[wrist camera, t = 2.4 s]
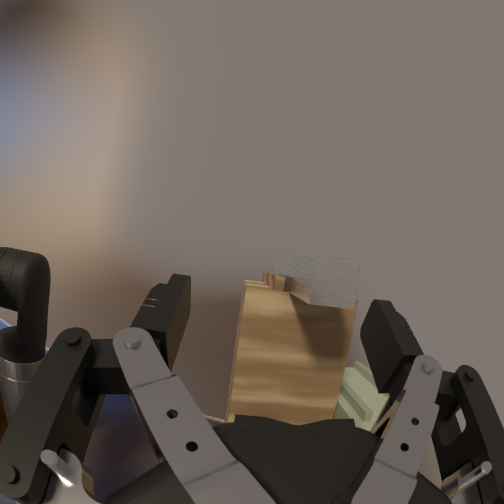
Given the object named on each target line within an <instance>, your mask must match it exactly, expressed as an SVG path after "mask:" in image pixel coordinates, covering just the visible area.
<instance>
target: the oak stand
mask: <svg viewBox="0 0 504 504" xmlns="http://www.w3.org/2000/svg"><path fill="white" fill-rule="evenodd" d="M284 283H285V277H284V276H280V275H277V274H274V273H270V272H264V273H263V281H255V280H248V279H244V285H243V292H242V299H241V306H240V313H239V321H238V329H237V336H236V343H235V350H234V357H233V365H232V373H231V380H230V387H229V395H228V403H227V409H226V417H225V423H229V422H234V418H235V414H240V415H249V416H260V417H268V418H271V419H275V420H278V421H282V422H286V423H290V424H294V425H303V424H308V423H313V422H317V421H322V420H326V419H332V418H333V414H334V411H335V407H336V403H337V400H338V396H339V392H340V388H341V384H342V379H343V375H344V371H345V366H346V362H347V357H348V352H349V347H350V342H351V337H352V332H353V326H354V321H355V315H356V309H357V303H358V300H355V306H354V309H349V308H339V307H329V306H319V305H310V304H308V303H306V302H304V301H303V300H301V299H299V298H298V297H296V296H294V295H292V294H291V293H289V292H287V291H286V290H284Z"/></svg>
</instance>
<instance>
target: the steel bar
mask: <svg viewBox="0 0 504 504" xmlns="http://www.w3.org/2000/svg"><path fill="white" fill-rule="evenodd" d="M360 263H361V262H357V261H350V260H344V259H337V258H329V257H323V256H307V257H298V258H290V259H279V260H276V262H275V269H274V274H277V275H280V276H284V277H285V283H284V290H286V291H287V292H289V293H291V294H292V295H294V296H296V297H298V298H299V299H301V300H303V301H304V302H306V303H308V304H310V305H319V306H329V307H339V308H349V309H354V306H355V300H356V293H357V286H358V279H359V271H360Z"/></svg>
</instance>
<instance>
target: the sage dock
mask: <svg viewBox="0 0 504 504" xmlns="http://www.w3.org/2000/svg"><path fill="white" fill-rule="evenodd" d="M388 398H389V393H382V394H378V391H377V387H376V384H375V381H374V378H373V374H372V371H371V370H370V369H368V368H367V367H366V366H365V365H363V364H362V363H361V362H359V361H355V362H354V367H353V368H350V367H345V371H344V375H343V379H342V384H341V388H340V392H339V396H338V400H337V403H336V407H335V411H334V414H333V418H332V419H354V422H355V427H359V428H362V429H365V430H367V431H370V430H371V429H372V427H373V425H374V423H375V421H376V419H377V418H378V416H379V414H380V412H381V410H382V408H383V406H384V404H385V402H386V400H387V399H388Z"/></svg>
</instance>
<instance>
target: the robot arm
mask: <svg viewBox="0 0 504 504" xmlns="http://www.w3.org/2000/svg"><path fill="white" fill-rule="evenodd" d="M50 278H51V277H50V267H49V263H48V261H47V259H46V258H45V257H44V256H43V255H41V254H38V253H34V252H29V251H23V250H18V249H13V248H8V247H0V307H3V308H7V309H10V310H13V311H17V312H18V320H17V326H13V327H7V328H3V329H1V330H0V387H1V392H2V398H3V402H4V407H5V412H6V416H7V420H8V424H9V425H8V428H7V430H6V432H5V434H4V437H3V439H2V441H1V444H0V492H1V493H2V494H4V495H5V496H7V497H9V498H10V499H12V500H14V501H15V502H16V503H18V504H100V503H99V502H98V501H97V499H96V498H95V495H94V492H93V483H94V482H93V477H92V474H91V473H90V471H89V470H88V469H87V468H86V467H85V466H84V464H83V461H84V457H85V454H86V451H87V448H88V444H89V441H90V438H91V435H92V432H93V429H94V426H95V423H96V420H97V417H98V415H99V412H100V409H101V406H102V403H103V401H104V398H105V395H106V394H128V397H129V399H130V401H131V404H132V406H133V408H134V410H135V413H136V415H137V417H138V419H139V421H140V423H141V426H142V428H143V430H144V432H145V434H146V436H147V439H148V441H149V443H150V445H151V447H152V449H153V451H154V453H155V455H156V457H157V459H158V460H159V462H160V463H159V464H157V465H156V466H154V467H153V468H152V469H150V470H149V471H147V472H146V473H144V474H143V475H141V476H140V477H138V478H137V479H135V480H134V481H132V482H130V483H129V484H127V485H126V486H124V487H123V488H121V489H119V490H118V491H116V492H114V493H113V494H111V495H110V496H108V497H107V498H106V499H105V500H104V501H103V502H102V503H101V504H504V429H503V426H502V424H501V421H500V419H499V416H498V414H497V412H496V410H495V407H494V405H493V403H492V401H491V398H490V396H489V394H488V392H487V390H486V387H485V385H484V384H483V382H482V379H481V377H480V375H479V374H478V372H477V371H476V370H475V369H474V368H472V367H470V366H468V365H462V366H460V367H459V368H458V369H457V370H456V372H455V373H452V372H447V371H443V370H442V367H441V365H440V364H439V363H438V361H437V360H435V359H434V358H432V357H430V356H427V355H424V354H423V352H422V350H421V348H420V346H419V344H418V342H417V340H416V338H415V336H414V335H413V332H412V330H411V329H410V327H409V325H408V323H407V321H406V319H405V318H403V316H402V315H400V314H399V313H398V312H396V310H395V308H394V307H393V305H392V303H391V302H390V301H386V300H376V299H375V300H373V301H372V303H371V305H370V308H369V310H368V312H367V315H366V317H365V319H364V322H363V324H362V326H361V331H360V337H361V341H362V344H363V347H364V350H365V353H366V356H367V359H368V362H369V365H370V368H371V371H372V374H373V378H374V381H375V384H376V387H377V391H378V394H382V393H389V398H388V399H387V400H386V402H385V404H384V406H383V408H382V410H381V412H380V414H379V416H378V418H377V419H376V421H375V423H374V425H373V427H372V429H371V430H370V431H367V430H365V429H362V428H359V427H355V422H354V419H326V420H322V421H317V422H313V423H308V424H303V425H294V424H290V423H286V422H282V421H278V420H275V419H271V418H268V417H260V416H249V415H240V414H235V418H234V422H229V423H223V424H219V425H216V426H213V427H211V426H210V424H209V423H208V421H207V420H206V418H205V417H204V415H203V414H202V412H201V411H200V409H199V408H198V406H197V405H196V403H195V402H194V400H193V398H192V397H191V395H190V394H189V392H188V391H187V389H186V387H185V386H184V384H183V382H182V381H181V379H180V378H179V377H178V375H176V374H175V375H172V374H171V370H172V368H173V364H174V361H175V358H176V355H177V352H178V349H179V346H180V343H181V340H182V337H183V334H184V331H185V328H186V325H187V322H188V319H189V314H190V305H191V303H190V302H191V298H190V297H191V277H190V276H186V275H180V274H173V275H172V276H171V278H170V280H169V282H168V284H162V283H159V284H158V285H156V286H155V287H153V288H152V289H151V290H150V292H149V294H148V295H147V298H146V299H145V301H144V303H143V305H142V306H141V308H140V310H139V311H138V313H137V315H136V317H135V319H134V320H133V322H132V324H131V326H130V328H126V329H123V330H121V331H119V332H118V333H117V334H116V335H115V336H114V338H113V339H91V336H90V334H89V333H88V331H86V330H85V329H82V328H77V327H75V328H69V329H66V330H64V331H63V332H61V333H60V334H59V335H58V337H57V338H56V340H55V341H54V343H53V344H52V346H51V348H50V349H49V351H48V353H47V354H46V353H45V344H46V337H47V318H48V303H49V294H50ZM460 408H461V409H462V411H463V414H464V417H465V420H466V427H465V430H464V431H463V432H462V433H461V430H460V427H459V424H458V421H457V418H456V415H455V414H456V413H457V411H458V410H459V409H460ZM430 437H432V441H433V445H434V448H435V453H436V457H437V461H438V465H439V469H440V474H441V479H442V485H441V490H440V489H439V488H437V487H436V486H435V485H434V484H433V483H431V482H430V481H429V480H428V479H427V478H425V477H424V476H423V475H422V474H421V473H419V472H418V469H419V467H420V464H421V462H422V459H423V456H424V454H425V451H426V448H427V446H428V443H429V440H430Z"/></svg>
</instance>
